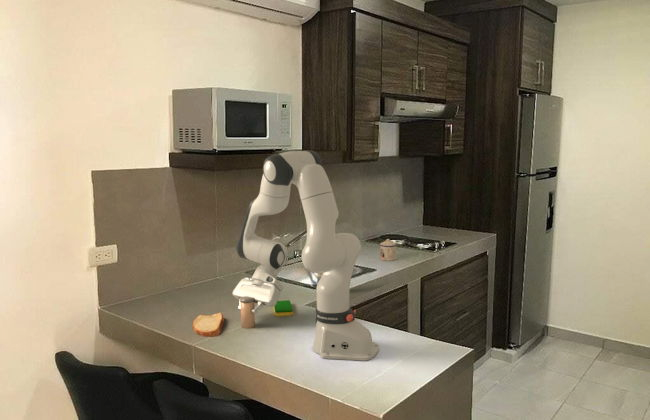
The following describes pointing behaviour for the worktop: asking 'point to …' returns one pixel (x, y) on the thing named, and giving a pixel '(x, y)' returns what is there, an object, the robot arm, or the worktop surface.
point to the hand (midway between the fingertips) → (246, 311)
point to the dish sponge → (283, 308)
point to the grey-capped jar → (247, 312)
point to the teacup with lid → (388, 250)
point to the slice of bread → (208, 325)
